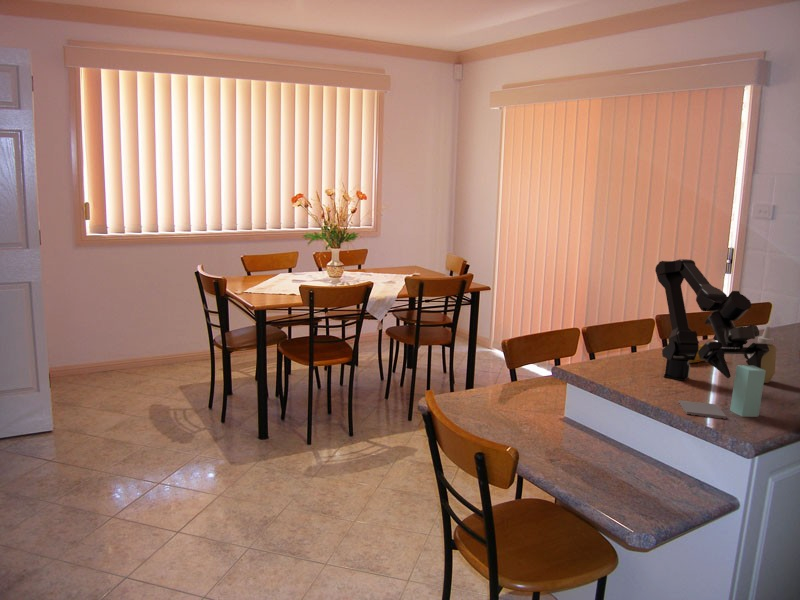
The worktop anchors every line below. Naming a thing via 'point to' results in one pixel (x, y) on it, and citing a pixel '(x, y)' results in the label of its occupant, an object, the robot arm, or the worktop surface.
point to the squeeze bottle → (768, 355)
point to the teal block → (747, 390)
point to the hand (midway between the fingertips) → (744, 377)
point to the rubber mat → (702, 409)
